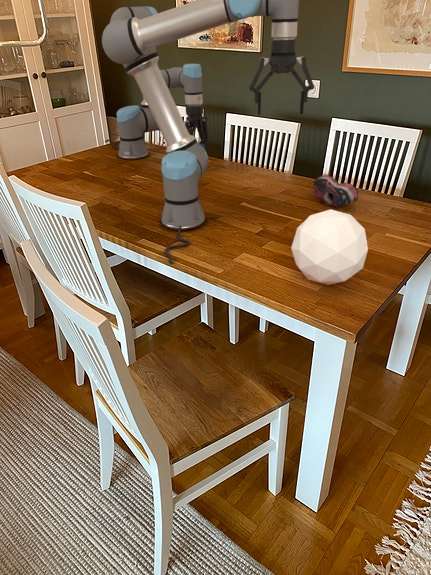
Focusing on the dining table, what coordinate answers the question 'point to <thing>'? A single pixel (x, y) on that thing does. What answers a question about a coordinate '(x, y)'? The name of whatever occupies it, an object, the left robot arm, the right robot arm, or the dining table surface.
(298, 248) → the sphere
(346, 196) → the athletic shoe
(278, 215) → the dining table surface
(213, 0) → the right robot arm
